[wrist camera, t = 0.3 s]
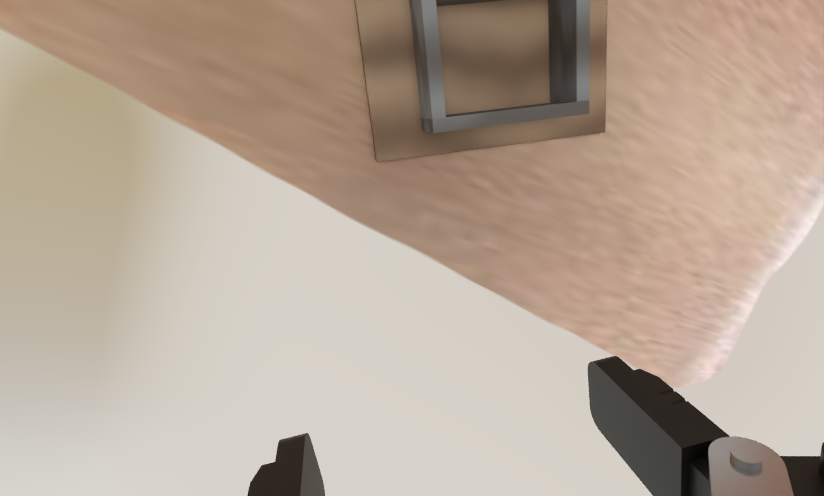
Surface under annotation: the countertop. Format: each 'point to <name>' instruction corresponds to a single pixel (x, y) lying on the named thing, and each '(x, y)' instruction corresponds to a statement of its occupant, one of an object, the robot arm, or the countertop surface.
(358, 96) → the countertop surface
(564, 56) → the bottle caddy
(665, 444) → the robot arm
